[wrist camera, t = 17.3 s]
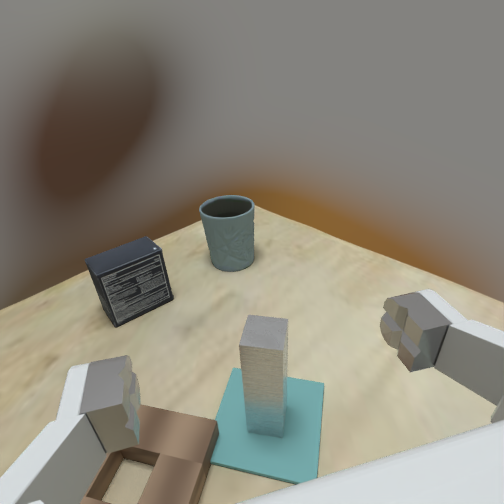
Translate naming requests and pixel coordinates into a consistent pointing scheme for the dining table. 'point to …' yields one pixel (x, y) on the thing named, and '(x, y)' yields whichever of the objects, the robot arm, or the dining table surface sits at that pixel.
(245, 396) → the metal bar
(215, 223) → the grey-green cup
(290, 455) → the mat
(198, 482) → the socket block
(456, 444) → the robot arm
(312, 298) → the dining table surface
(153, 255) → the small box
